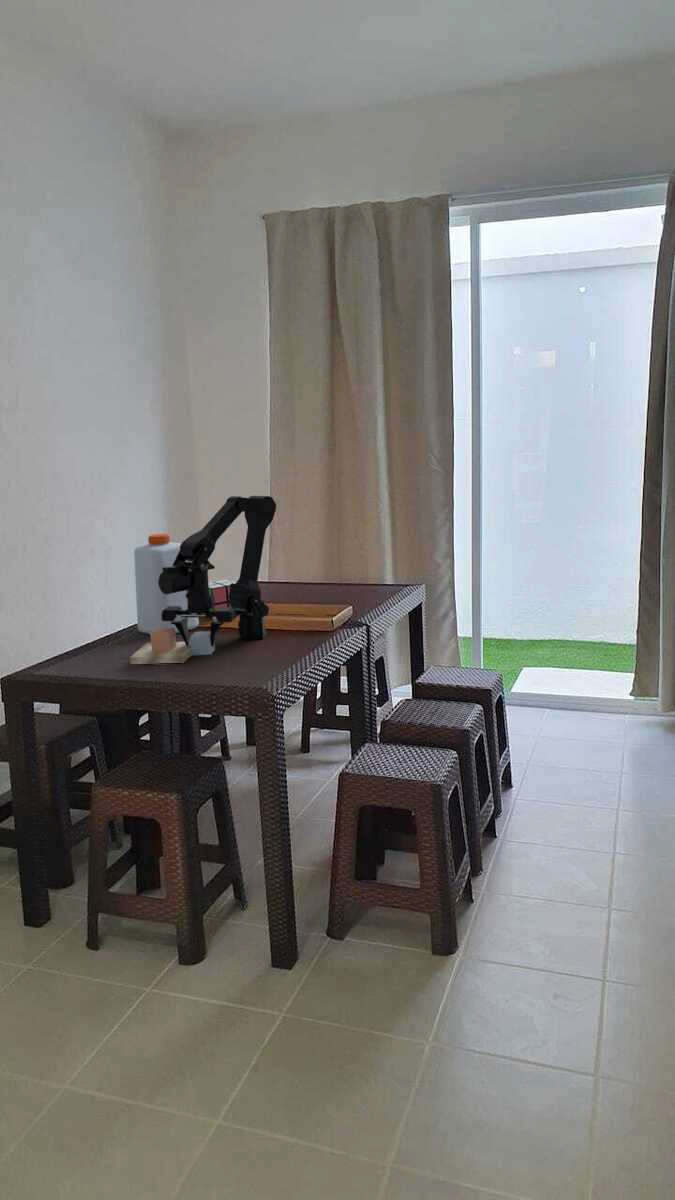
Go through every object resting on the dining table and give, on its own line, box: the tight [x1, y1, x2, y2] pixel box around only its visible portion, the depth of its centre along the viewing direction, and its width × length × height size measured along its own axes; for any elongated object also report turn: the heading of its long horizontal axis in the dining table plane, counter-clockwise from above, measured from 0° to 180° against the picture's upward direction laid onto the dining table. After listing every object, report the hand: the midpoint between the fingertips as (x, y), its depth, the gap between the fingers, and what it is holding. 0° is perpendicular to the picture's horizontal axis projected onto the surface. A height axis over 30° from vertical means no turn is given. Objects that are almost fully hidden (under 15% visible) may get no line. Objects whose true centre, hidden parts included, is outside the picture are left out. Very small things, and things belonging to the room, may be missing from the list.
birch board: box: [129, 640, 193, 664], centre depth 231 cm, size 14×14×2 cm
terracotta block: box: [149, 628, 177, 652], centre depth 230 cm, size 5×5×5 cm
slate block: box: [189, 630, 216, 656], centre depth 232 cm, size 5×5×5 cm
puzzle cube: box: [208, 579, 237, 611], centre depth 273 cm, size 10×10×10 cm
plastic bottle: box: [133, 533, 200, 635], centre depth 257 cm, size 15×15×28 cm
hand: (200, 645), depth 233 cm, fingers open, 6 cm apart
